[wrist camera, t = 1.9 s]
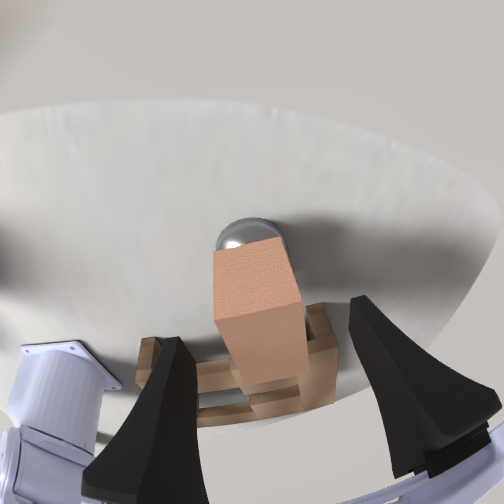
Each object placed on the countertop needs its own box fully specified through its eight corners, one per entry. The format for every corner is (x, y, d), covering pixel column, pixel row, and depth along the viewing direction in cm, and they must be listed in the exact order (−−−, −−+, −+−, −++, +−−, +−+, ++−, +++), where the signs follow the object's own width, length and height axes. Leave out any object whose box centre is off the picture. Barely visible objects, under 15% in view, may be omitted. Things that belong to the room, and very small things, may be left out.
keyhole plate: (187, 394, 26) (187, 428, 23) (141, 338, 20) (134, 382, 17) (323, 368, 26) (333, 403, 22) (321, 302, 20) (338, 346, 17)
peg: (228, 286, 18) (235, 387, 12) (205, 219, 15) (199, 323, 9) (289, 272, 18) (320, 369, 12) (277, 202, 15) (317, 297, 9)
